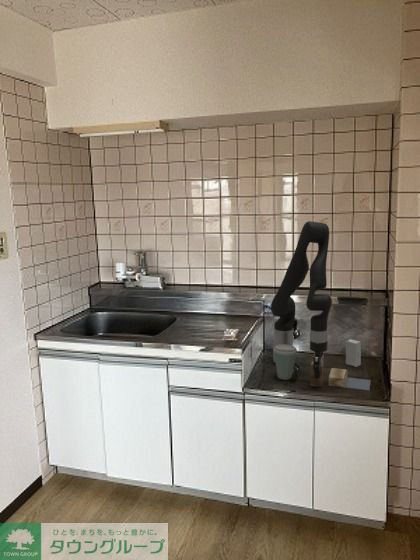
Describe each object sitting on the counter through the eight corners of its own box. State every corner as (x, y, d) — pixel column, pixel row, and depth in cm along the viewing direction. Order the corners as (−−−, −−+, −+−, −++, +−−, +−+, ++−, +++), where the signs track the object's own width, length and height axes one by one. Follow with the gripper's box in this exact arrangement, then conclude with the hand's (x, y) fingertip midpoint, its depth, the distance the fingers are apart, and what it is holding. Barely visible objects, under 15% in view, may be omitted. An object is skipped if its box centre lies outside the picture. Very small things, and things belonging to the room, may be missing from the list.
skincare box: (361, 365, 225) (361, 341, 222) (355, 367, 222) (356, 343, 219) (350, 361, 229) (350, 338, 227) (344, 364, 226) (345, 340, 224)
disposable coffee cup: (275, 371, 219) (275, 341, 217) (298, 373, 216) (298, 343, 213) (271, 380, 210) (271, 349, 207) (295, 382, 206) (295, 351, 203)
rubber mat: (345, 387, 200) (345, 387, 200) (347, 378, 210) (347, 377, 210) (369, 390, 196) (369, 390, 196) (370, 380, 206) (370, 380, 206)
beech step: (328, 385, 202) (328, 376, 202) (331, 376, 212) (331, 367, 212) (345, 387, 200) (345, 378, 199) (347, 378, 210) (347, 369, 209)
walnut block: (310, 385, 203) (310, 364, 201) (311, 382, 207) (312, 361, 205) (321, 387, 201) (322, 365, 199) (323, 383, 205) (323, 362, 203)
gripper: (312, 334, 208) (312, 368, 211) (307, 343, 195) (307, 379, 198) (329, 335, 205) (329, 369, 208) (325, 345, 192) (325, 381, 195)
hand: (318, 374), depth 203 cm, fingers open, 8 cm apart
